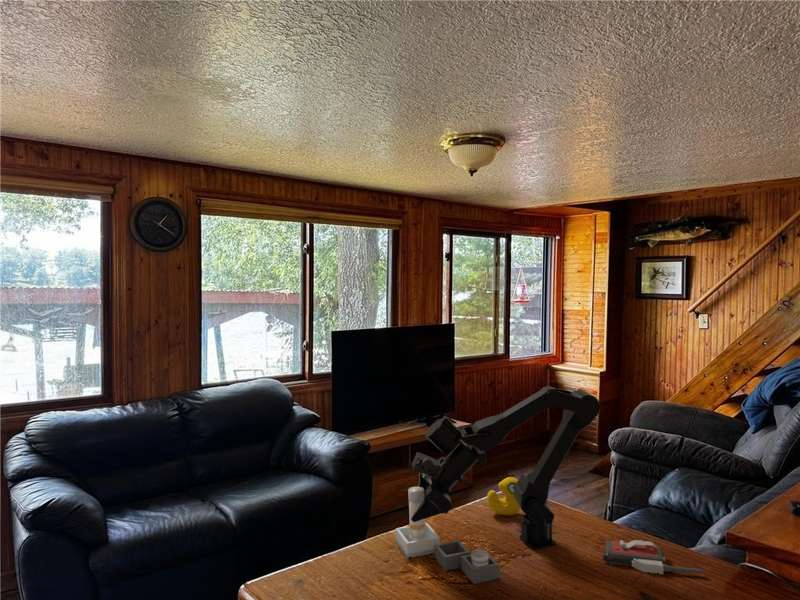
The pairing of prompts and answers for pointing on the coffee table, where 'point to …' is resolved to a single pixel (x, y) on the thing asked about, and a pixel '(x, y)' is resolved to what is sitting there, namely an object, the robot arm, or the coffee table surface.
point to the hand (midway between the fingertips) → (411, 512)
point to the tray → (416, 542)
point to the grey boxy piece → (480, 570)
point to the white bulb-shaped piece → (414, 502)
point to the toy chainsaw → (641, 557)
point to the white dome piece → (479, 558)
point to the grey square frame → (450, 554)
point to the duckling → (508, 502)
